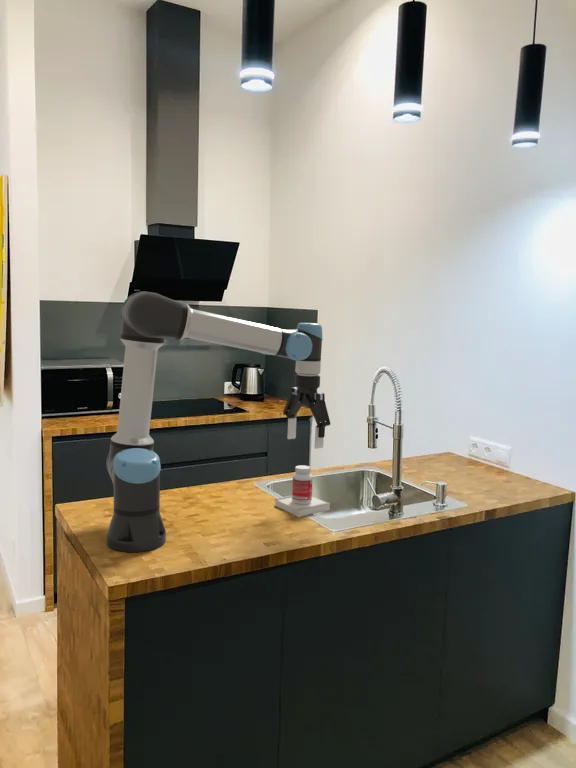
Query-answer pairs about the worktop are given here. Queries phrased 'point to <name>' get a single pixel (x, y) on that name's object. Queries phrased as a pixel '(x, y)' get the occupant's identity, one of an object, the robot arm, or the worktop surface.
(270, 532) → the worktop surface
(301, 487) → the pill bottle
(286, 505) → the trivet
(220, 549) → the worktop surface
